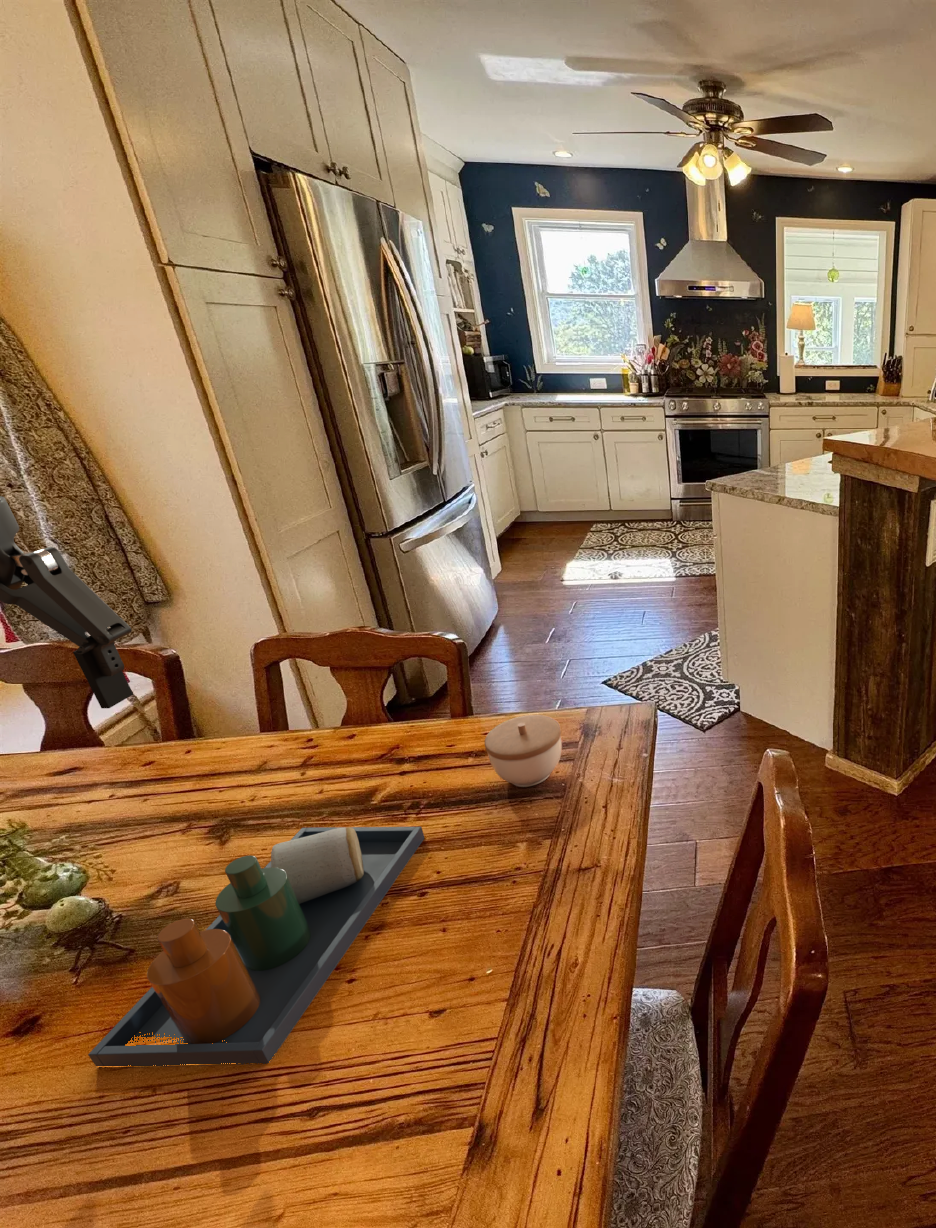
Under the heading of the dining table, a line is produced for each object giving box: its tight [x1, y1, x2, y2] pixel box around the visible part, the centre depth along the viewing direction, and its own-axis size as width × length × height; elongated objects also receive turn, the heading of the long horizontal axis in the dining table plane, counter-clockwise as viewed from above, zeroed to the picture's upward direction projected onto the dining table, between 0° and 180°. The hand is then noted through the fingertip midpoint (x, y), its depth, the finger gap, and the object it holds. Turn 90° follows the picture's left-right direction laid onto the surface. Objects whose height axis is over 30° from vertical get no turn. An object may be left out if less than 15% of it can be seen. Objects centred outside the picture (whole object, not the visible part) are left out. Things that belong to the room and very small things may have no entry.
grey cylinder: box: [270, 826, 364, 904], centre depth 81 cm, size 11×8×8 cm
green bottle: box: [214, 854, 311, 971], centre depth 71 cm, size 6×6×12 cm
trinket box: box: [484, 714, 563, 788], centre depth 101 cm, size 11×11×9 cm
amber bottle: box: [146, 918, 260, 1044], centre depth 64 cm, size 6×6×12 cm
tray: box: [87, 826, 425, 1067], centre depth 75 cm, size 16×30×3 cm, turn 3°
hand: (48, 701), depth 67 cm, fingers open, 13 cm apart
